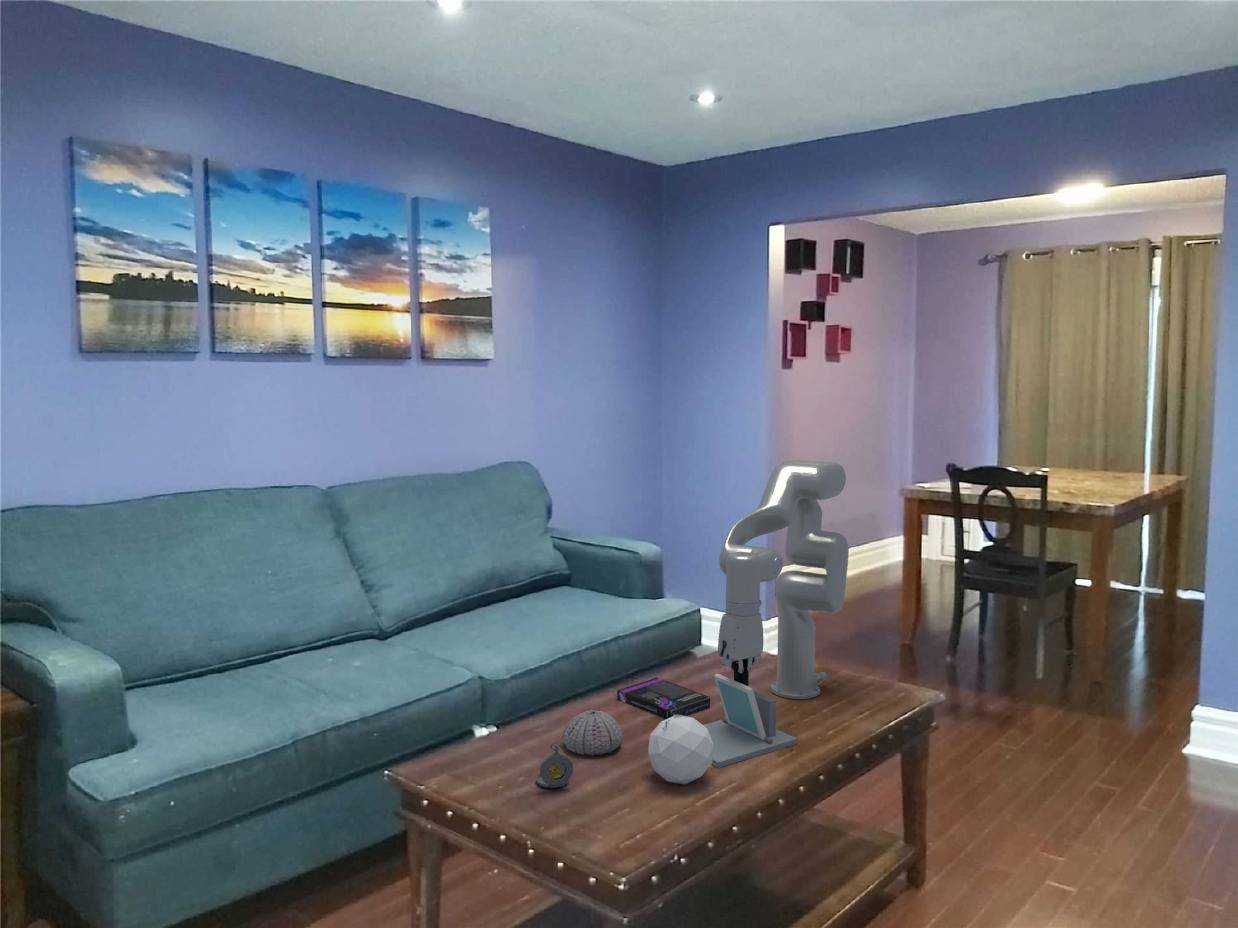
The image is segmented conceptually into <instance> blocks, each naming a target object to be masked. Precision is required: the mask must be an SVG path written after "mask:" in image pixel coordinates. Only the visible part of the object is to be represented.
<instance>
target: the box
mask: <svg viewBox="0 0 1238 928" xmlns="http://www.w3.org/2000/svg"><path fill="white" fill-rule="evenodd" d="M616 691H617V692H616V695H617V696H616V698H617V701H620V702H622V703H625V704H627V705H630V706H632V707H634V708H637V709H640V710H642V711H645V712H648V713H650V714H652V715H654V716H656V717H660V718H662V719H664V720H666V719H668V718H670V717H673V716H674V714H676V715H677V714H678V715H682V716H687V717H688V716H690V715H693V714H695V713H698V712H700V711H704V710H707V709H710V708H711V696H708V695H706V694H703V693H701V692H697V691H695V690H692V689H691V688H687V687H684V686H681V685H680V684H676V683H673V682H671V681H667V680H665V679H662V678H659V677H656V676H655V677H654V678H651V679H648V680H645V681H642V682H639V683H635V684H633V685H631V686H626V687H624V688H619V689H617V690H616Z"/></svg>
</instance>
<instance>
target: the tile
mask: <svg viewBox="0 0 1238 928" xmlns="http://www.w3.org/2000/svg"><path fill="white" fill-rule="evenodd" d="M713 677H714V681H715V684H716V687H717V690H718V694H719V698H720V700H721V701H720V702H721V704H722V708H723V712H724V715H725V718H726V719H727V722H728V723H729V724H731V725H733V726H735V727H737V728H739V729H741V730H743V731H745V732H747V733H749V734H752V735H754V736H756V737H758V738H760V739H762V740H764V739H765V738H766V734H765V731H764V727H763V724H762V720H761V717H760V713H759V709H758V706H757V702H756V699H755V695H754V692H753V691H754V689H753V687H751V686H749V685H748V686H746V685H744V684H741V683H739V682H737V681H734V679H732V678H729V677H727V676H724V675H722V674H720V673H715V674H713Z"/></svg>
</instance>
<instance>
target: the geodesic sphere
mask: <svg viewBox="0 0 1238 928" xmlns="http://www.w3.org/2000/svg"><path fill="white" fill-rule="evenodd" d="M703 725H704V724H702V723H701V722H699V720H697V719H695V718H694V717H690V716H688V715H687V716H682V715H678V714H677V715H676V714H674V716H673V717H670V718H668V719H664V720H662V721H660V722H659V724H657V726H656V727H655V728H654V729H653V731H652V732H651V733H650V734H649V739H648V750H647V754H648V757H649V759H650V763H651V765H652V768H653V771H654V772H656V774H658V775H659V776H660V777H662V778H663V779H664V780H665V781H667V782H668V783H672V784H673V783H674V784H680V785H687V784H689V783H691V782H693V781H695V780H698V779H700V778H702V776H703V775H704V774H705V772H707V770H708V769H709V768H710V767H711V765H712V759H713V750H714V745H713V742H712V739H711V737H710V734H709V731H708V729H707V728H706V727H705V726H703Z"/></svg>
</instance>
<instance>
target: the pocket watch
mask: <svg viewBox="0 0 1238 928" xmlns="http://www.w3.org/2000/svg"><path fill="white" fill-rule="evenodd" d="M555 744H557V745H555ZM558 744H560V745H561V746H558ZM553 745H555V746H554V747H552V746H553ZM563 746H564V743H562V741H561V742H560V741H557V742H553V743H552V744H551V745H550V746H549V747H550V749H552V750H553V751H554V752H553V753H550V754H549V755H547V756H546V757H545V758H543V760H542V762H541V764H540V766H539V774H538V775H537V776H536V779H535V781H536V784H537V785H539V787H543V788H548V789H554V788H555V789H556V788H561V787H564V786H566V785H567V784H568V783H569V780H570V779H571V777H572V775H573V771H574V765H573V761H572V760H571V758H570V757H569V756H568V755H567V754H565V753H564V752H563V753H562V752H559V750H560V749H562V747H563Z"/></svg>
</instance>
